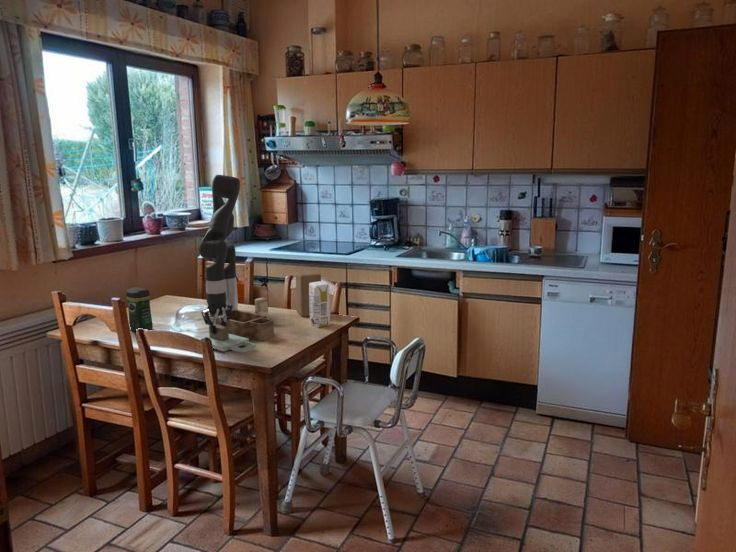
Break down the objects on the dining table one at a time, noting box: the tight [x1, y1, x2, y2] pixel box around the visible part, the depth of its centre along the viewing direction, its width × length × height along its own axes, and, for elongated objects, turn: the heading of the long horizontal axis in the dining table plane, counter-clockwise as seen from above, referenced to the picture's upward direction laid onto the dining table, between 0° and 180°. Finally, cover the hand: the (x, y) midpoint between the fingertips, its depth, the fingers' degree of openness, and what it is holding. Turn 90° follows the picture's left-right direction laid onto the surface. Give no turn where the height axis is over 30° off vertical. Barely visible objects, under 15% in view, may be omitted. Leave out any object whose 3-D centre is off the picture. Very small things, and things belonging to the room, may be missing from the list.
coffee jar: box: [126, 286, 154, 332], centre depth 245 cm, size 10×8×19 cm
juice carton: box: [309, 280, 331, 329], centre depth 250 cm, size 8×9×19 cm
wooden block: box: [295, 270, 322, 318], centre depth 268 cm, size 10×10×20 cm
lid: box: [194, 324, 257, 354], centre depth 224 cm, size 27×13×8 cm, turn 54°
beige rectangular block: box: [254, 297, 269, 319], centre depth 255 cm, size 4×4×11 cm
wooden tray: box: [212, 309, 275, 342], centre depth 240 cm, size 27×13×7 cm, turn 54°
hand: (218, 332), depth 226 cm, fingers open, 4 cm apart
